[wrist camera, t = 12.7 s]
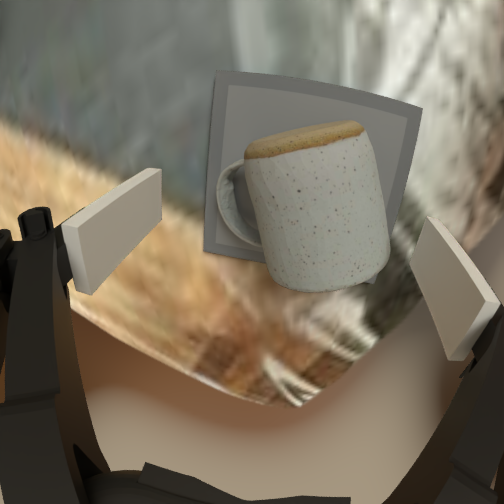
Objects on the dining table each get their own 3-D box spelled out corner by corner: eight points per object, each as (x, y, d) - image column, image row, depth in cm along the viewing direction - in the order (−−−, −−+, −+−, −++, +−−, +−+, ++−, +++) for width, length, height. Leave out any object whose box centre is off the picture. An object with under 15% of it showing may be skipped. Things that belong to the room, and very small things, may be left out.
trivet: (206, 246, 26) (203, 251, 25) (219, 71, 19) (215, 70, 18) (372, 278, 24) (374, 284, 23) (419, 107, 17) (423, 108, 16)
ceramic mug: (356, 111, 17) (379, 120, 11) (379, 225, 21) (402, 286, 14) (206, 150, 21) (154, 179, 14) (242, 250, 24) (211, 313, 18)
